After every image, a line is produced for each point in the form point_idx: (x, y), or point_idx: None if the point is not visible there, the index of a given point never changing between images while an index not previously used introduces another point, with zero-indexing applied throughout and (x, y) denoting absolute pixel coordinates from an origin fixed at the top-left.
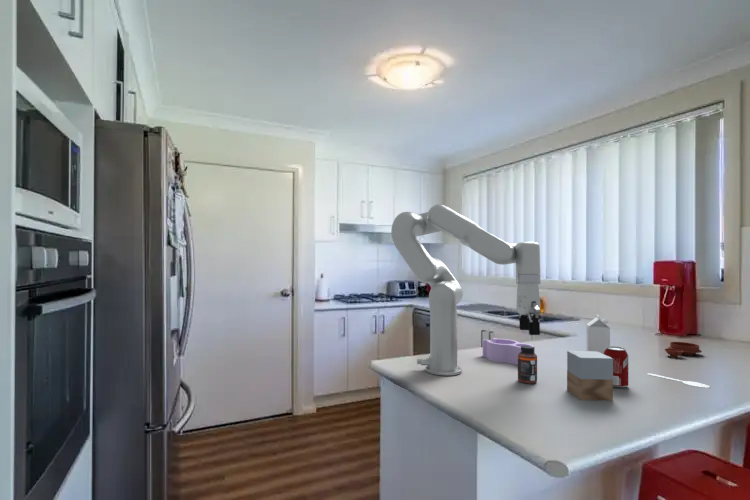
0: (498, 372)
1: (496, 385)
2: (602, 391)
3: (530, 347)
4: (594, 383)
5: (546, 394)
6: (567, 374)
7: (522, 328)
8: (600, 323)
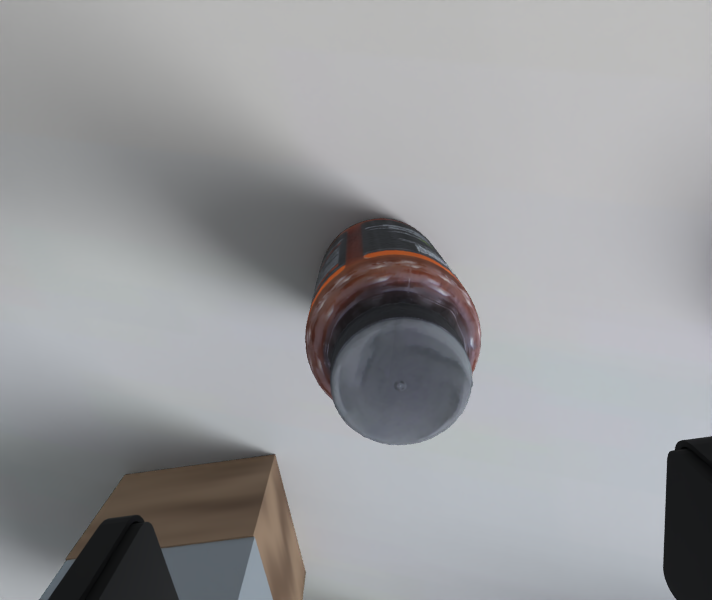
0: (590, 95)
1: (229, 48)
2: None
3: (364, 411)
4: None
5: (149, 340)
6: (252, 517)
7: (685, 491)
8: None
